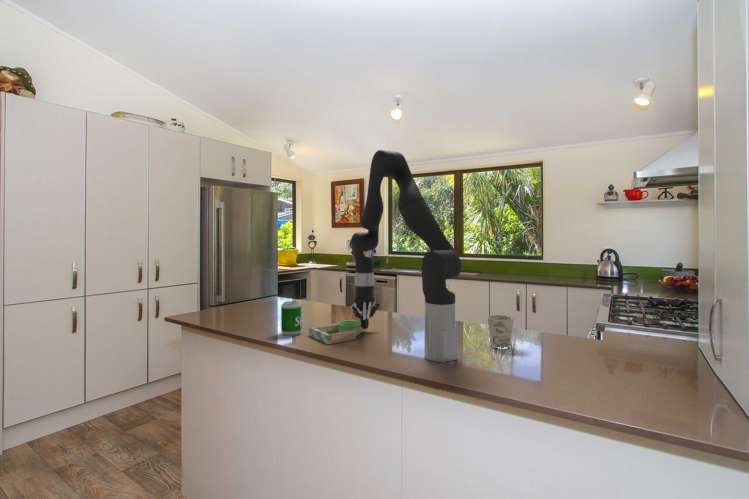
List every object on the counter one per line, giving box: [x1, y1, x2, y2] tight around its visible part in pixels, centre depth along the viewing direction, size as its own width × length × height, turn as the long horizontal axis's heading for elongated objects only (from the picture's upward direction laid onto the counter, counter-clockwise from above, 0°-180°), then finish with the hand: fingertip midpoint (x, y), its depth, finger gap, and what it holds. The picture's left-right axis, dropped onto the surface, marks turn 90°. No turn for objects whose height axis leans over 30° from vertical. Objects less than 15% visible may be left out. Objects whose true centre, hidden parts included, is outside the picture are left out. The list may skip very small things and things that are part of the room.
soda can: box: [280, 300, 303, 337], centre depth 153 cm, size 8×8×12 cm
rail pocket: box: [308, 323, 357, 345], centre depth 150 cm, size 14×20×3 cm
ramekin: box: [336, 319, 362, 337], centre depth 153 cm, size 9×9×4 cm
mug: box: [487, 314, 514, 348], centre depth 138 cm, size 8×13×10 cm, turn 152°
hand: (364, 328), depth 156 cm, fingers closed
